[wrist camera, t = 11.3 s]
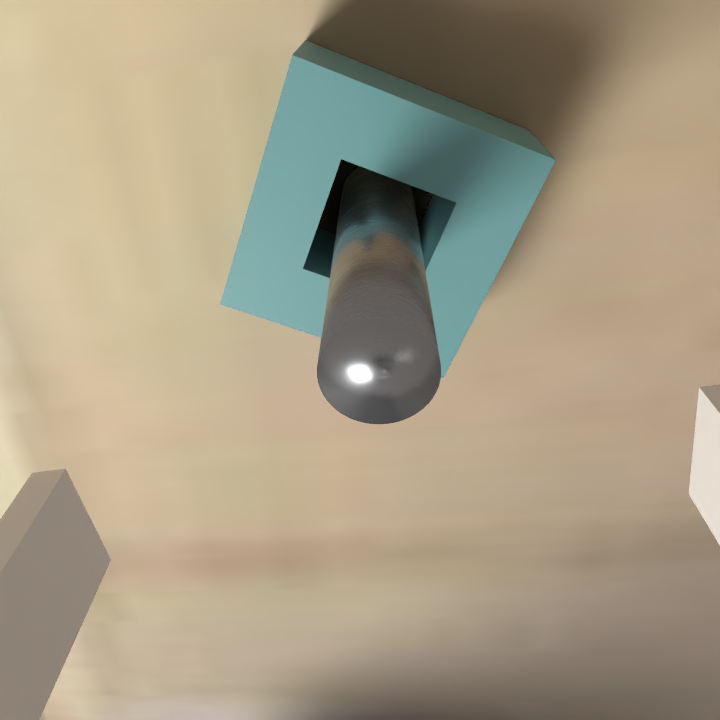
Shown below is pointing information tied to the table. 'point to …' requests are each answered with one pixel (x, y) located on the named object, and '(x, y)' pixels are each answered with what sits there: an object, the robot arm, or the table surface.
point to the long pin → (378, 307)
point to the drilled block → (395, 160)
